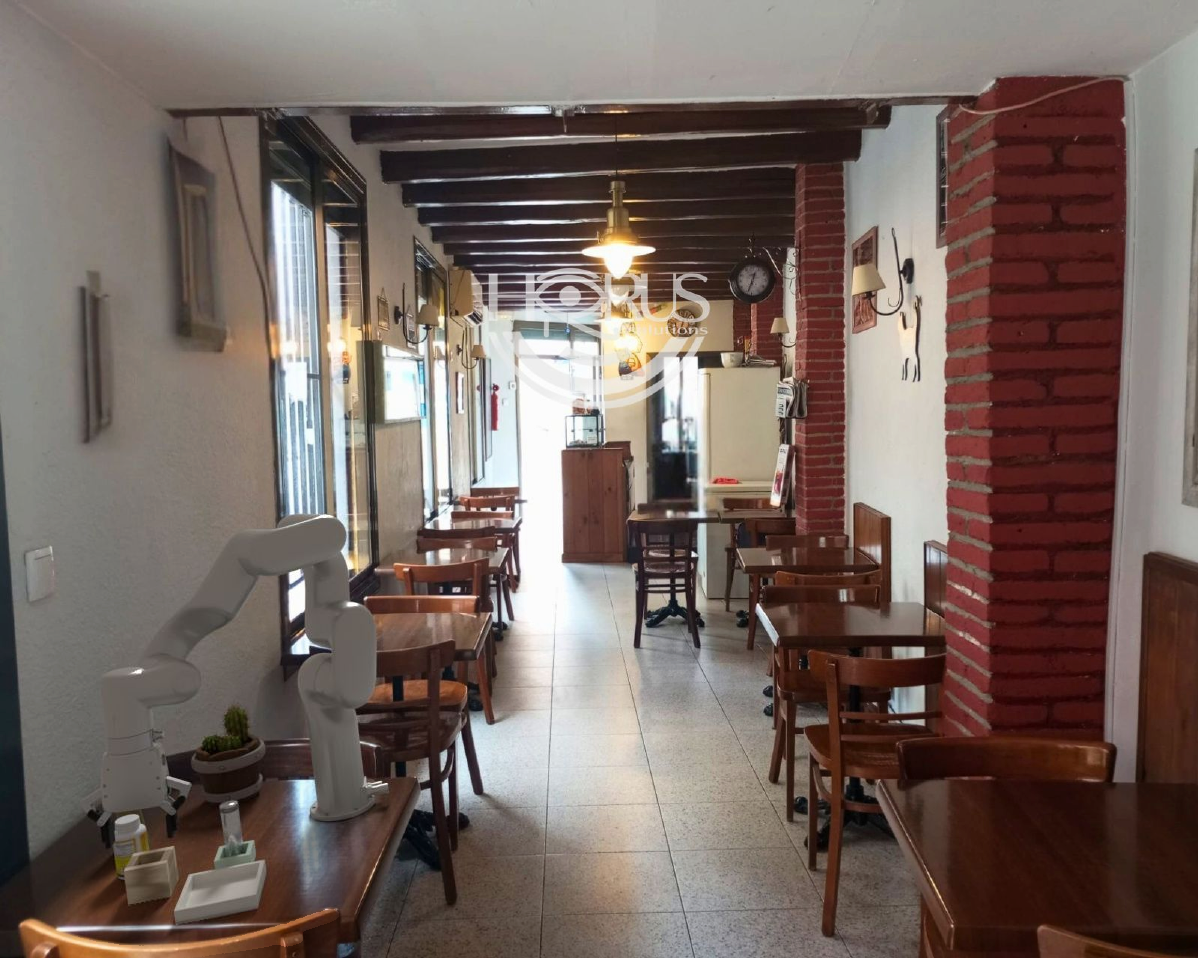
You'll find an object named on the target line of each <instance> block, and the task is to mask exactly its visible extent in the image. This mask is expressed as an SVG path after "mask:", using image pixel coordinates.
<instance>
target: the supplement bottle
mask: <svg viewBox="0 0 1198 958" xmlns="http://www.w3.org/2000/svg"><path fill="white" fill-rule="evenodd" d="M145 825H146V824H145ZM145 825H143V824H140V819H139V815H136V814H132V815H127V816H123V817H121V818H119V819H117V820H116V819H115V821H114V832H115V842H114V844H113V845H112V849H113V855H114V861H115V862H114V863H115V869H116V873H117V874H116V875H117V877H118V879H120V880H122V881H125V878H124V870H125V868H126V866H127V864H128V863H129V861H130V859H131V857H132V855H133V854H134V853H139V852H144V851H150V846H148V839H147V832H148V831H147V832H146V828H147V826H146V827H145Z"/></svg>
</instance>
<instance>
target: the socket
mask: <svg viewBox="0 0 1198 958" xmlns="http://www.w3.org/2000/svg"><path fill="white" fill-rule="evenodd" d="M243 847H244V854H241V855H236V856H231V857H226V850H225V845H219V847H218V849H217V852H216V855H215V857H214V861H213V865H214V869H220V868H225V867H230V866H235V865H240V864H245V863H250V862H255V861H256V856H257V851H256V844H255V840H254V839H252V840H246V841H243Z"/></svg>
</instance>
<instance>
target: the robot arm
mask: <svg viewBox="0 0 1198 958" xmlns="http://www.w3.org/2000/svg"><path fill="white" fill-rule="evenodd" d="M347 538H348V537H347V530H346V526H345V525H344V524H343V523H342V521H341V520H340V519H339V518H337V517H335V516H333V515H330V514H324V513H320V514H319V513H293V514H289V515H286V516H284V517H283V518H281V519H280V520H279V522H278V523H277V526H276V528H272V529H259V528H258V529H256V528H255V529H252V528H251V529H250V528H249V529H243V530H239V531H237V532H236V533H234V534H232V536H231V537H230V538H229V539H228V540H227V542H226V544H225V545H224V547H223V549H222V550H221V551H220V553H219V555H218V556H217V558H216V559H215V561H214V563H213V564H212V566H211V567H210V569H209V571H208V572H207V573H206V576H205V577H204V579H203V580H202V582H201V583H200V585H199V587H197V590H196V591H195V593H194V594H193V595H192V596H191V598H190V599H189V600H187V602H184V603H183V605H182V606H181V607H179V609H178V610H177V611H176V612H175V613H174V614H172V616H170V618H169V619H167V620H166V622H164V623H163V625H161V627H160V628H159V629H158V631H157V632H156V633H155V635H154V636H153V638H152V639H151V641H150V642H149V644H148V646H146V649H144V652H143V653H142V654H141V657H140V658H139V660H138V662H137V664H136V665H135V666H129V667H121V668H118V669H113V670H110V671H108V672H106V673H104V674H102V676H101V677H100V679H99V682H98V688H99V689H98V691H99V699H100V706H101V707H100V708H101V717H102V725H103V733H104V743H105V752H103V755H102V757H101V758H102V759H101V768H100V787H99V788H98V789H96V790H95V791H93V792H92V793H90V794H88V795H87V796H86V797H84V798H82V800H81V801H80V802H79V807H80V808H81V809H82V810H83V812H84V813H86V816H87V818H89V819H90V820H92V821H94V822H95V823H96V825H97V826H98V827H100V836H101V842H102V843H103V844H105V849H106V850H108V849H111V848H113V844H114V842H115V822H114V820H113V818H111V816H112V814H116V813H120V812H126V811H133V810H139V809H141V810H145V809H150V808H151V809H152V808H156V807H160V808H161V809H163V810H164V811H165V812H166V815H165V826H166V827H165V829H166V833H167V834H166V837H167V839H168V840H169V839H173V838H174V835H175V834H176V832H177V831H178V830H179V818H178V817H179V816H178V810H179V809H180V808H181V807H182V806H183V804H184V803H185V802H186V800H187V798H188V796H189V793H190V791H191V788H192V783H191V782H189V781H187V780H182V779H179V778H176V777H172V776H171V775H170V773H169V766H168V761H167V759H166V754H165V751H164V748H163V744H162V743H161V742H157V741H159V740H163V739H164V738H165V731H164V730H157V728H156V726H155V723H154V714H153V708H154V707H163V706H170V705H178V704H182V703H185V702H187V701H189V700H191V699H192V698H194V697H195V696H196V695H197V694H198V692H200V690H201V687H202V684H203V676H202V672H201V670H200V669H199V668H198V666H197V665H195V664H194V663H192V662H190V661H188V660H187V658H188V656H189V655H190V654H191V652H192V651H193V650H194V649H195V648H196V646H197V645H198V644H199V643H200V642H201V641H203V639H205V638H206V637H207V636H208V635H211V634H212V633H213V632H215V631H217V630H219V629H221V628H224V627H226V626H227V625H229V624H230V623H232V622H234V621H235V620H236V619H237V618H238V616H239V615H240V613H241V611H242V610H243V608H244V607H245V605H246V603H247V601H248V599H249V598H250V597H251V595H252V594H253V591H254V589H255V588H256V586H257V585H258V583H259V582H260V580H261V579H262V577H277V576H281V575H285V574H289V573H292V572H295V571H298V570H302V573H303V577H304V578H303V579H304V590H305V591H304V632H305V636H306V637H307V639H308V641H309V642H311V643H312V644H313V645H316V646H319V647H321V648H327V649H330V651H331V653H330V652H322V653H321V652H320V653H316V654H313V655H311V656H310V657H308V658H306V659H305V661H303V663H302V664H301V667H300V668H299V670H298V674H297V687H298V692H299V696H300V699H301V702H302V705H303V709H304V712H305V719H306V724H307V731H308V739H309V740H308V741H309V747H310V755H311V764H312V772H313V778H314V789H315V794H316V795H315V796H316V800H315V801H314V802H313V803H312V804H311V806H310V808H309V813H310V817H311V818H312V819H315V820H317V821H321V822H337V821H343V820H348V819H350V818H354V817H357V816H360V815H361V814H363V813H365V812H367V811H368V810H369V809H371V808H372V807H373V805H375V802H376V801H375V796H376V795H384V794H389V792H390V791H389V784H388V783H383V781H382V780H380V781H375V782H371V781H369V782H368V779H367V776H365V775H364V767H363V760H362V759H363V758H362V749H361V741H360V734H359V724H358V723H359V722H358V718H357V713H356V712H357V711H356V709H358V708H360V707H362V706H364V705H366V703H367V702H368V701H369V700H370V699H371V697H372V696H373V694H374V691H375V687H376V681H377V652H378V651H377V647H378V645H377V641H378V638H377V625H376V621H375V618H374V616H373V615H372V612H371V611H370V609H368V608H367V607H366V606H365V605H363V604H362V603H359V602H354V601H351V597H350V596H351V595H350V577H349V575H350V574H349V569H348V565H347V564H348V563H347V562H346V559H345V557H344V555H343V553H342V550H343V549H344V547H345V545H346V542H347ZM172 789H176V790H179V792H180V793H179V796H177V797H176V799H174V798H173V797H171V796H170V795H171V794H172ZM99 799H101V806H102V810H103V811H102V810H100V809H99V808H97V807H95V804H94V802H95V801H97V800H99Z"/></svg>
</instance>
